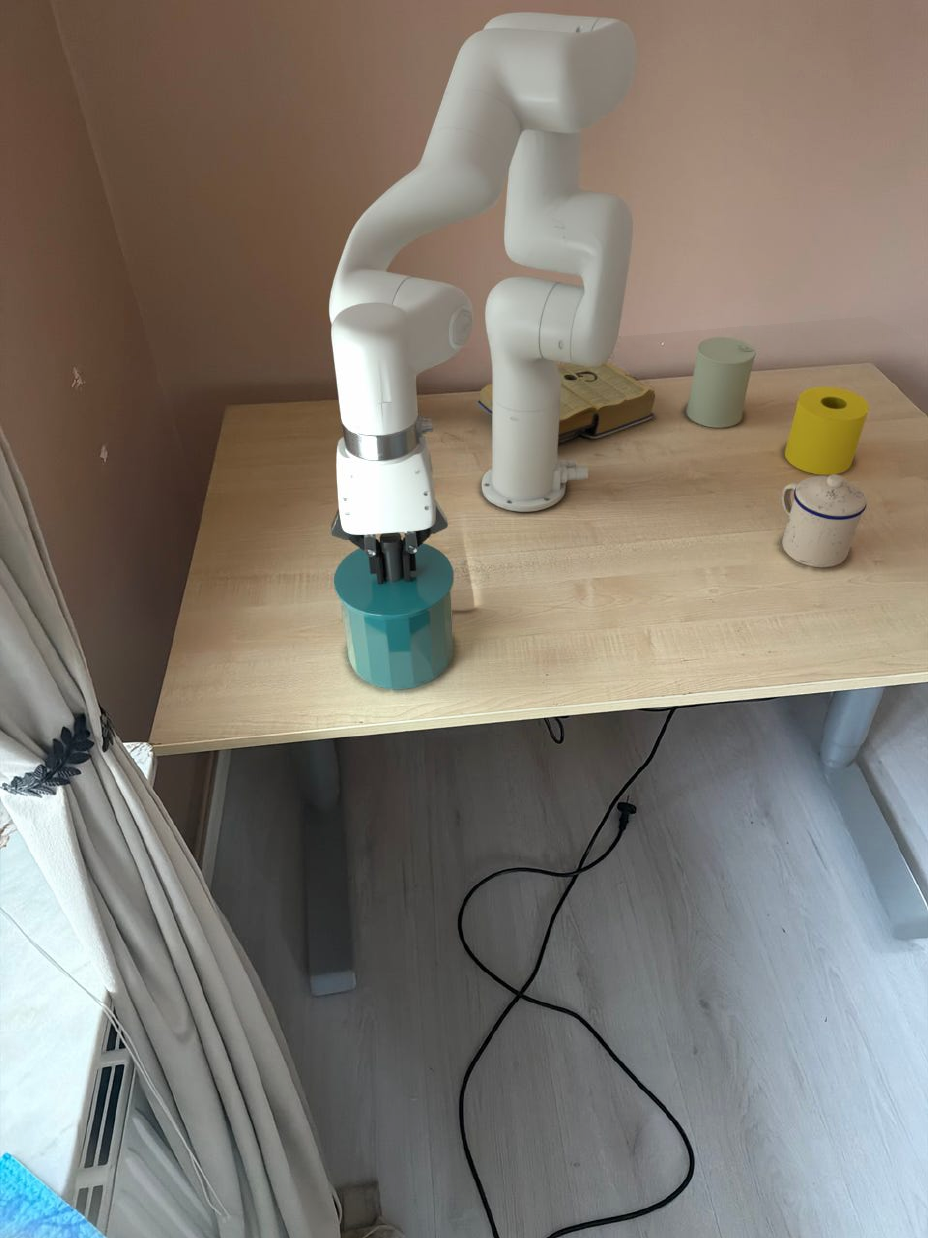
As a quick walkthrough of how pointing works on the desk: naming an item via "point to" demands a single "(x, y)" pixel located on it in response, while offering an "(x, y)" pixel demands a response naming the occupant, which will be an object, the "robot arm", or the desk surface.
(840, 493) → the teacup with lid
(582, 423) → the book
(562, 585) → the desk surface
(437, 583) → the lid
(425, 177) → the robot arm
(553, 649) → the desk surface
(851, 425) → the yellow toilet paper roll
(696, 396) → the can
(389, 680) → the pot
